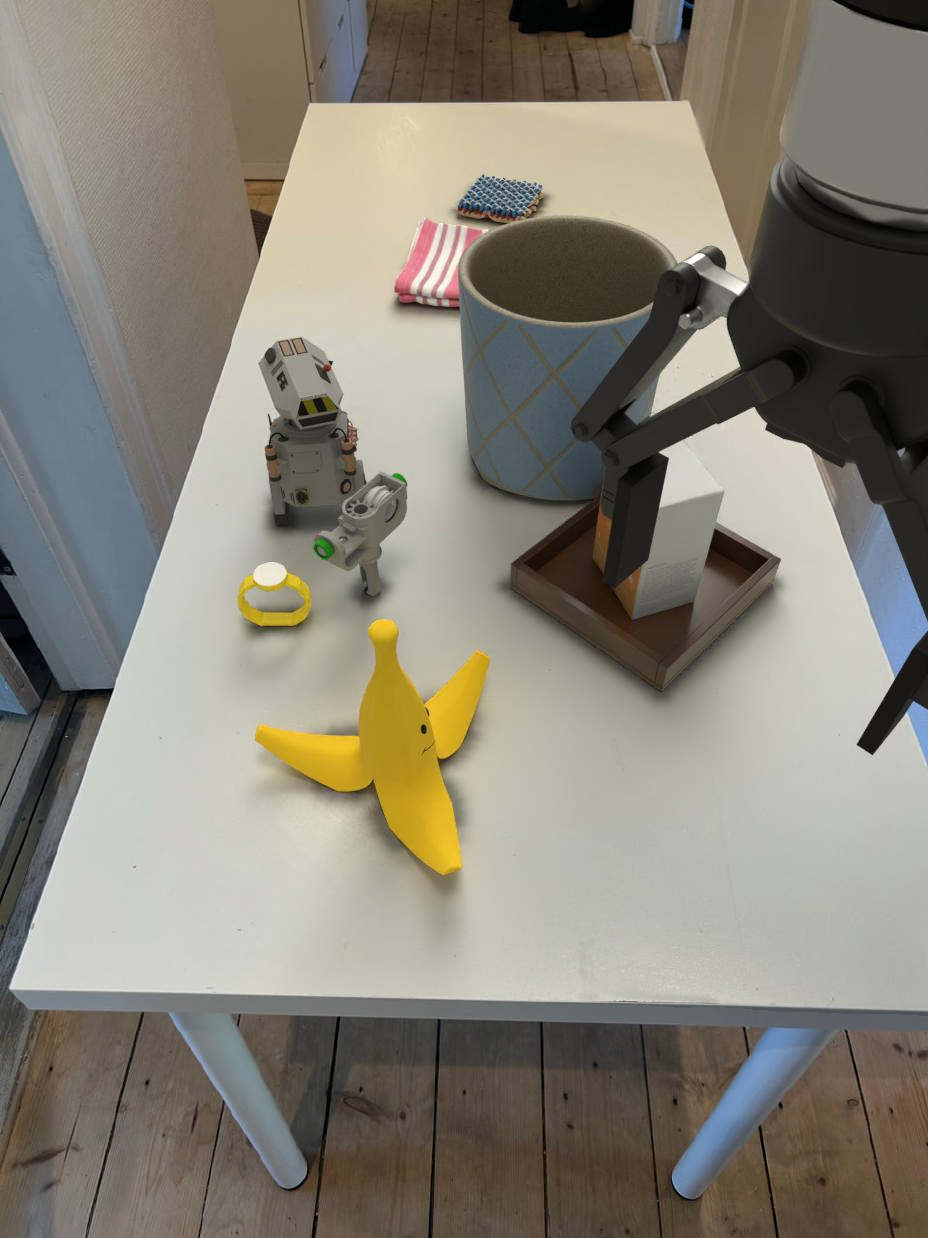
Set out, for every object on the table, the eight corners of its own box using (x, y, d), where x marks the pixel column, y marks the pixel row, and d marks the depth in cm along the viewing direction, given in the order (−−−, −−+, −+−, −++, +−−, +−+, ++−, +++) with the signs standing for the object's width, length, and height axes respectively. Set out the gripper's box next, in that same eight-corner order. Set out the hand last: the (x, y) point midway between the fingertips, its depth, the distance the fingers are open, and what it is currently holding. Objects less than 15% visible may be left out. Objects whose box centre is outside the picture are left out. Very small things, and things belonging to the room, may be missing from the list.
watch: (243, 634, 77) (228, 587, 72) (246, 610, 79) (232, 563, 74) (313, 631, 77) (303, 584, 73) (315, 607, 79) (305, 559, 74)
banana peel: (491, 676, 74) (493, 528, 61) (462, 897, 62) (457, 770, 49) (294, 658, 75) (256, 509, 62) (228, 870, 63) (164, 740, 50)
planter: (479, 386, 100) (478, 207, 85) (652, 403, 97) (683, 222, 82) (445, 500, 88) (437, 315, 72) (641, 523, 85) (676, 336, 70)
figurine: (366, 454, 92) (350, 323, 81) (369, 531, 85) (352, 399, 74) (277, 460, 92) (249, 329, 81) (273, 539, 84) (240, 406, 73)
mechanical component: (321, 618, 78) (304, 535, 70) (393, 549, 83) (385, 465, 76) (347, 633, 77) (333, 550, 69) (419, 562, 82) (413, 478, 75)
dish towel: (418, 240, 122) (416, 214, 119) (590, 250, 119) (593, 225, 117) (392, 306, 111) (390, 280, 108) (581, 320, 108) (584, 293, 106)
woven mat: (547, 195, 130) (547, 181, 128) (523, 229, 123) (524, 214, 122) (479, 185, 132) (479, 171, 131) (453, 217, 126) (452, 202, 124)
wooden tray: (772, 583, 80) (781, 558, 78) (661, 692, 72) (667, 669, 70) (624, 496, 88) (628, 472, 85) (509, 587, 80) (510, 563, 78)
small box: (590, 559, 81) (605, 444, 72) (653, 541, 83) (676, 427, 73) (630, 623, 76) (652, 509, 67) (696, 603, 78) (728, 489, 68)
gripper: (1486, 275, 21) (1050, 755, 37) (637, 35, 33) (585, 481, 49) (1417, 417, 18) (970, 878, 34) (496, 93, 29) (490, 552, 45)
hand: (743, 645), depth 41 cm, fingers open, 13 cm apart
